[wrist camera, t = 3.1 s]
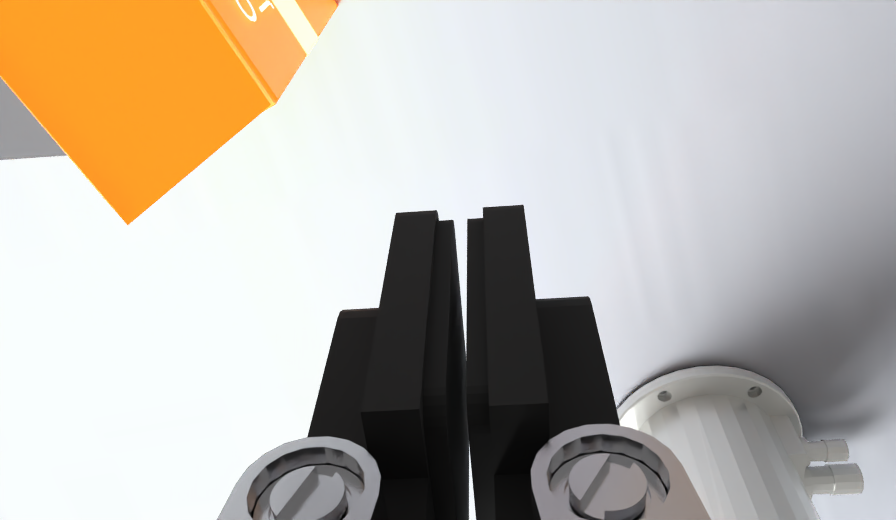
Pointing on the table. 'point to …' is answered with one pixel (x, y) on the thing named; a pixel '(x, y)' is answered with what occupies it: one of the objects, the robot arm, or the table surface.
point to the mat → (22, 130)
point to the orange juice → (151, 80)
